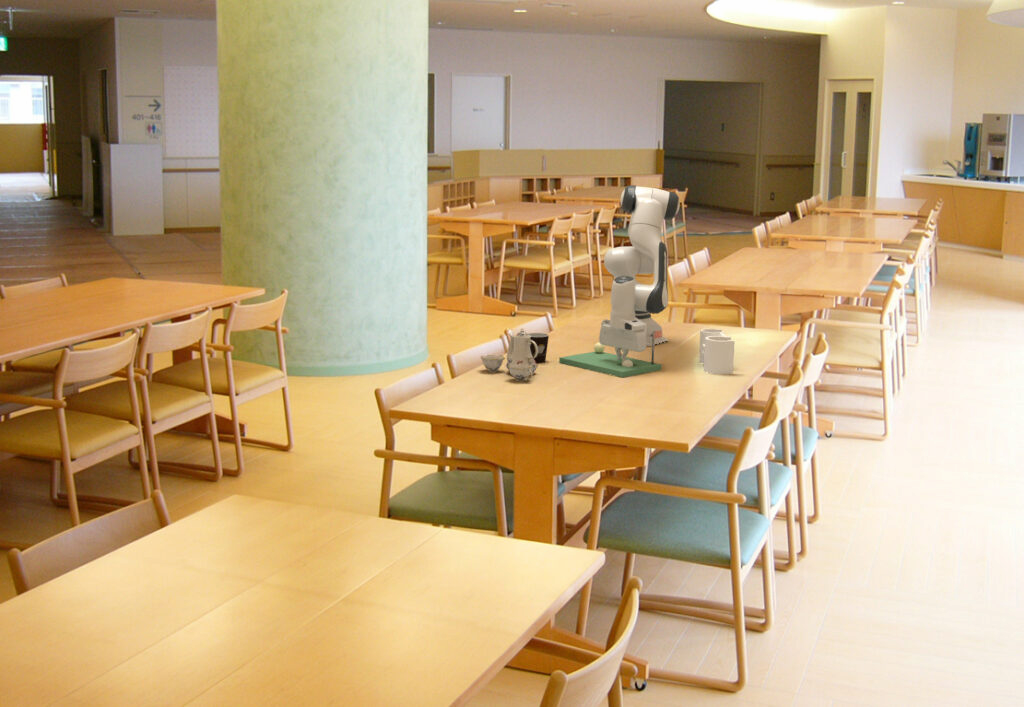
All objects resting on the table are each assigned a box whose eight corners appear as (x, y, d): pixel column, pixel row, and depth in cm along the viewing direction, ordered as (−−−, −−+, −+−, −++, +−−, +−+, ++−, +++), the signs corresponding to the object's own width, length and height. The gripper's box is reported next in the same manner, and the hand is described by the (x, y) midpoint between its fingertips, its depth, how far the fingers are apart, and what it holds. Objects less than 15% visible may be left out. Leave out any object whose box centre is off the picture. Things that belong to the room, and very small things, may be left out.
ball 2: (636, 363, 394) (632, 372, 396) (630, 356, 396) (625, 365, 399) (629, 364, 392) (624, 373, 394) (622, 357, 394) (617, 366, 396)
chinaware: (472, 375, 394) (468, 330, 390) (509, 364, 404) (505, 320, 400) (523, 389, 373) (519, 341, 368) (560, 378, 383) (556, 331, 378)
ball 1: (599, 351, 419) (599, 341, 418) (606, 353, 416) (606, 342, 415) (591, 352, 417) (591, 342, 416) (599, 354, 414) (599, 343, 413)
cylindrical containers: (695, 360, 414) (696, 328, 412) (721, 360, 414) (722, 328, 412) (706, 374, 390) (707, 341, 388) (733, 375, 390) (735, 341, 387)
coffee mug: (549, 359, 414) (549, 333, 412) (547, 364, 405) (548, 337, 403) (518, 358, 415) (518, 332, 413) (515, 363, 406) (516, 336, 404)
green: (598, 356, 421) (598, 350, 420) (661, 369, 397) (661, 364, 396) (559, 362, 408) (559, 357, 407) (622, 377, 384) (622, 371, 384)
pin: (659, 362, 399) (660, 329, 397) (661, 363, 399) (662, 330, 396) (650, 364, 396) (651, 331, 394) (652, 364, 396) (653, 331, 393)
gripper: (595, 319, 400) (594, 357, 403) (637, 327, 385) (636, 366, 388) (608, 317, 404) (607, 354, 407) (649, 325, 389) (648, 363, 392)
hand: (621, 360), depth 397 cm, fingers closed
